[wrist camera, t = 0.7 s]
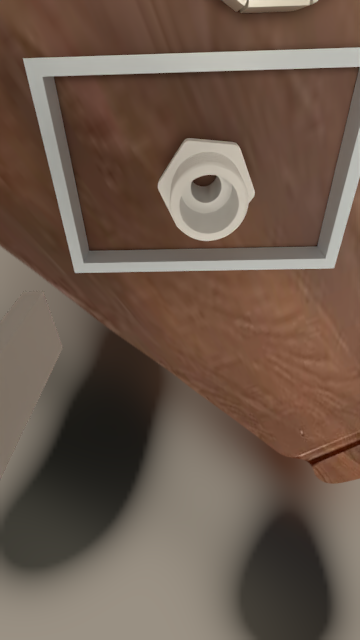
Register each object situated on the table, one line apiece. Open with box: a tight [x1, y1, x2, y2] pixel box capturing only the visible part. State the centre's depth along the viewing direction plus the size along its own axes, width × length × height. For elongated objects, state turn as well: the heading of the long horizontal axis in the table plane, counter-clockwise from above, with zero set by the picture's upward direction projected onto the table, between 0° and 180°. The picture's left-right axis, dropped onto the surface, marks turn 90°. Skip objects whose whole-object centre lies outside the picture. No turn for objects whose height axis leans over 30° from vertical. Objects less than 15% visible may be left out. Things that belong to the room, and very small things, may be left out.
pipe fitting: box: [158, 138, 255, 241], centre depth 26 cm, size 6×7×8 cm
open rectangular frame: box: [23, 47, 360, 273], centre depth 28 cm, size 16×24×2 cm, turn 92°
